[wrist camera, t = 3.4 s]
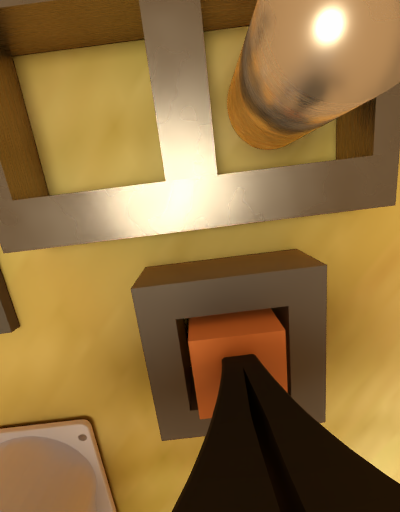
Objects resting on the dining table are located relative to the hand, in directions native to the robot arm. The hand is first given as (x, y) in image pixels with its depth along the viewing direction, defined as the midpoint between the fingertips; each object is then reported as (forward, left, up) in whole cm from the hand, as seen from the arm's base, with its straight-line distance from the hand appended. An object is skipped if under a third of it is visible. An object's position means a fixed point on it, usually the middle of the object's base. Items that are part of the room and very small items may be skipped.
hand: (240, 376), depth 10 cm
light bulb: (+11, -3, -4) cm, 12 cm away
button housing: (0, 0, -4) cm, 4 cm away
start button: (0, 0, -3) cm, 3 cm away
